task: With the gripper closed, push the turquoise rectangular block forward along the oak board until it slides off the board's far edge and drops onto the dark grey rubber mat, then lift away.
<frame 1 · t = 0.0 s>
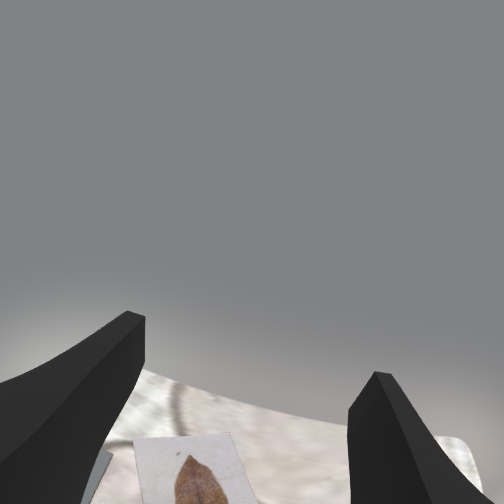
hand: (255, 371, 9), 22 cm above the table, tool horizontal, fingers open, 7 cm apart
mat: (50, 462, 20), on the table
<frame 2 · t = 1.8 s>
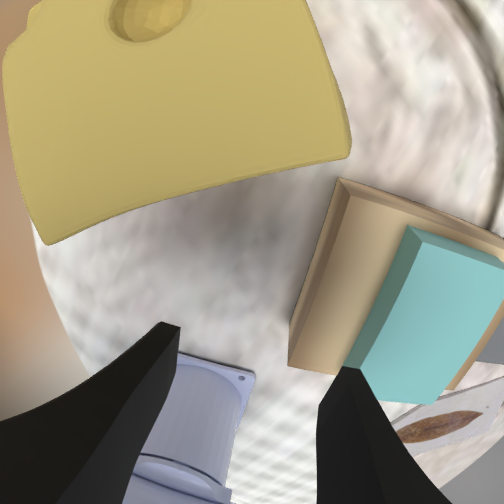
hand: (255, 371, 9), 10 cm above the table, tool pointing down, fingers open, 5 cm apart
cheese: (210, 72, 16), on the table
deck: (401, 281, 19), on the table
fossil: (433, 421, 25), on the table
turquoise rectangular block: (420, 317, 15), point 4 cm above the table, touching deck
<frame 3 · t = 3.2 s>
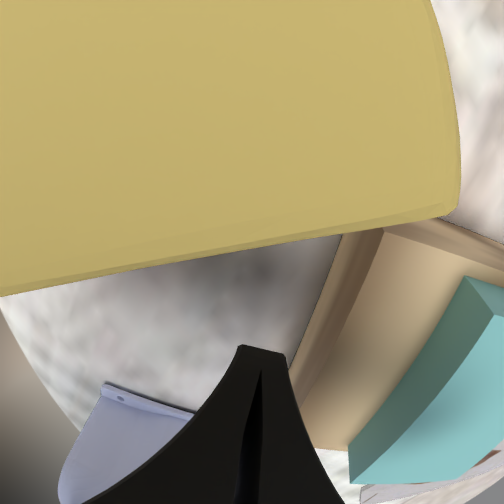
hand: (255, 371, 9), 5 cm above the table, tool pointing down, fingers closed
cheese: (171, 41, 10), on the table
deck: (432, 328, 13), on the table
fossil: (447, 461, 20), on the table
turquoise rectangular block: (459, 388, 10), point 4 cm above the table, touching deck
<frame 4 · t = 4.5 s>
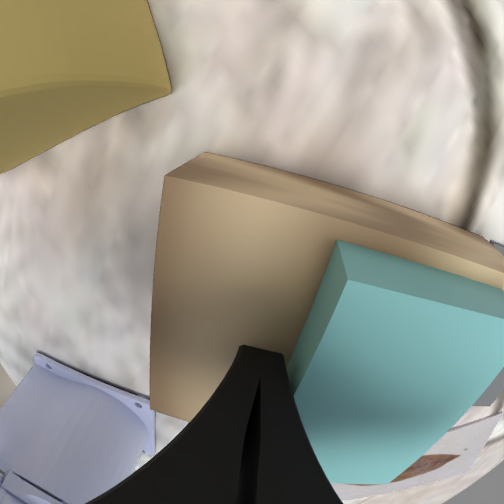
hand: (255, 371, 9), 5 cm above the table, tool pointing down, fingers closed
cheese: (59, 42, 10), on the table
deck: (322, 304, 14), on the table
mat: (494, 341, 13), on the table
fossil: (396, 463, 20), on the table
turquoise rectangular block: (370, 379, 10), point 4 cm above the table, touching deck, gripper
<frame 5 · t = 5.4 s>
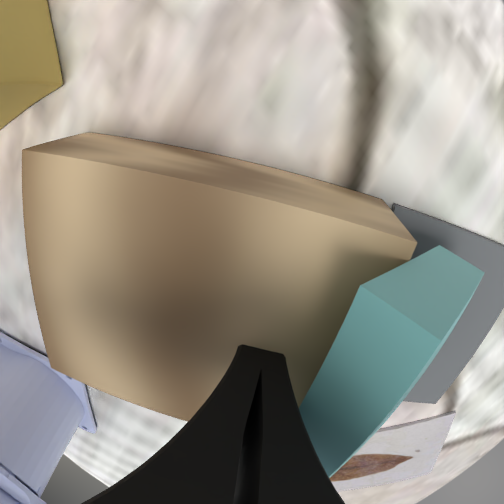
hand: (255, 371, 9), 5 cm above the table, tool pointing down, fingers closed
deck: (203, 273, 14), on the table
mat: (424, 326, 14), on the table
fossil: (339, 460, 20), on the table
turquoise rectangular block: (352, 373, 10), point 4 cm above the table, tilted 48°, touching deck
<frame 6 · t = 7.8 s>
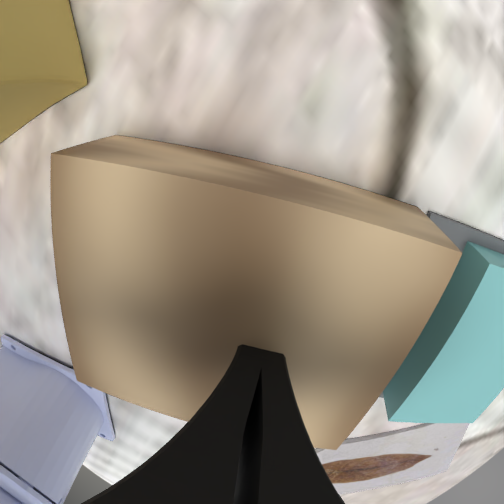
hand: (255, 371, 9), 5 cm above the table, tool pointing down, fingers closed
cheese: (8, 49, 10), on the table
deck: (238, 281, 14), on the table
mat: (450, 329, 13), on the table
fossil: (360, 461, 20), on the table
turquoise rectangular block: (483, 363, 11), point 2 cm above the table, tilted 180°, touching mat
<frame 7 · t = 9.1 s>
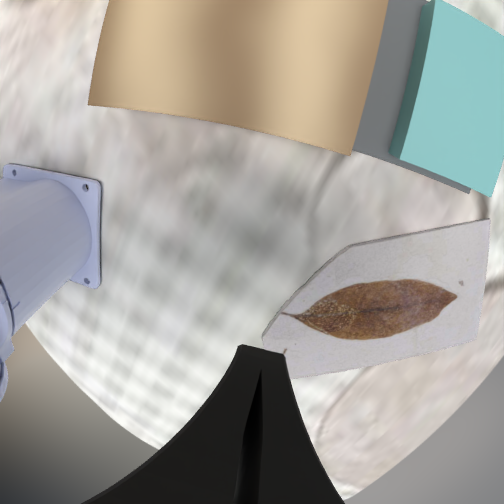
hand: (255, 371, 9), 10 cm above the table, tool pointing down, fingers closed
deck: (246, 30, 14), on the table
mat: (435, 88, 14), on the table
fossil: (378, 303, 20), on the table
turquoise rectangular block: (472, 97, 12), point 2 cm above the table, tilted 180°, touching mat
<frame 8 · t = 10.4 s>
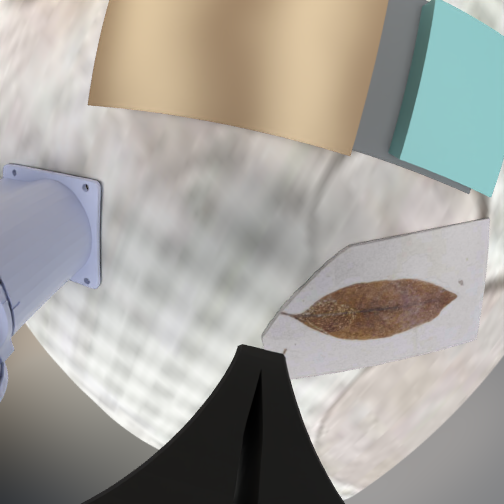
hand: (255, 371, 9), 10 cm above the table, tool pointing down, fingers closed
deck: (246, 30, 14), on the table
mat: (435, 88, 14), on the table
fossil: (377, 303, 20), on the table
turquoise rectangular block: (472, 97, 12), point 2 cm above the table, tilted 180°, touching mat
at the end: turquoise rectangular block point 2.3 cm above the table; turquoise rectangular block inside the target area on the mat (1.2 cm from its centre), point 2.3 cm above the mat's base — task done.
